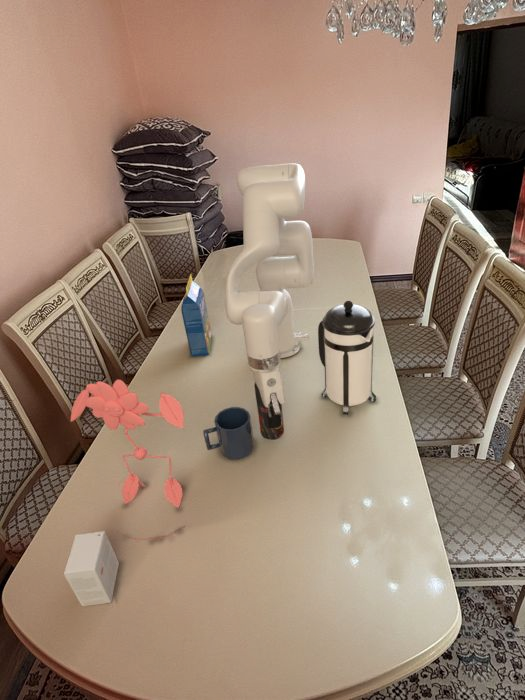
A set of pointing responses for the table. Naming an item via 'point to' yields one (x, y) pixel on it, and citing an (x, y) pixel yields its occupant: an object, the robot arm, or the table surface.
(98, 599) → the small box
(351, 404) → the coffee press
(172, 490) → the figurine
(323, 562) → the table surface
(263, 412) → the deodorant
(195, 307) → the blue food package
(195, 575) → the table surface
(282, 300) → the robot arm
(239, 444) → the mug
